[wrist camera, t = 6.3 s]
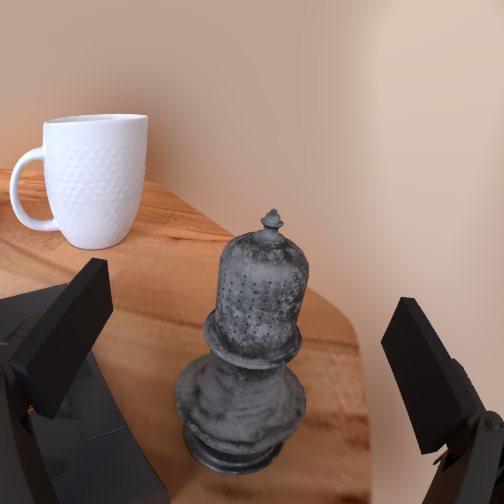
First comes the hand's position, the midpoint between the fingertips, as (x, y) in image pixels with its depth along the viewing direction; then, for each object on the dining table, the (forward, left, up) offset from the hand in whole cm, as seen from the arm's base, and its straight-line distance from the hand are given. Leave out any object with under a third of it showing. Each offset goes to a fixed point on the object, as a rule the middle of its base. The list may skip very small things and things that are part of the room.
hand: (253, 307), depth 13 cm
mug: (-24, -2, -7) cm, 26 cm away
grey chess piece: (+2, -1, -7) cm, 7 cm away
